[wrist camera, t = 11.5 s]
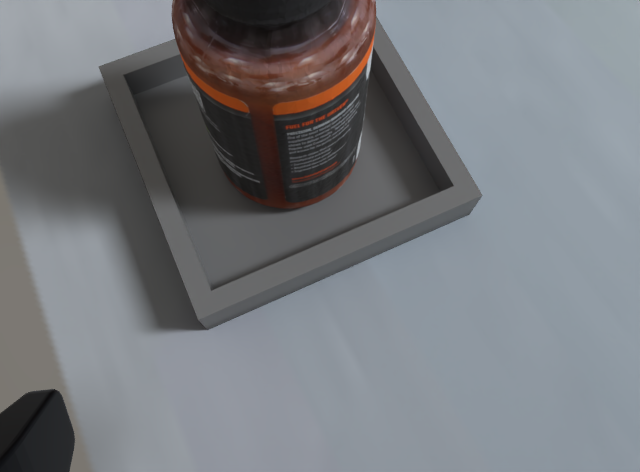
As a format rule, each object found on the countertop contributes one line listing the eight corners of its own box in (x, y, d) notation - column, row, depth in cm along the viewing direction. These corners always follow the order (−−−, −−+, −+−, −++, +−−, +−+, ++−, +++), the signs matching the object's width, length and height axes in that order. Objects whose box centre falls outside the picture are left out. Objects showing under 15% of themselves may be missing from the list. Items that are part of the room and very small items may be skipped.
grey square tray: (469, 214, 24) (482, 195, 22) (207, 329, 23) (198, 320, 21) (349, 6, 28) (351, -26, 26) (114, 93, 26) (98, 66, 24)
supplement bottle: (385, 129, 25) (437, -103, 14) (309, 241, 23) (305, 72, 13) (269, 65, 26) (237, -196, 15) (189, 167, 24) (90, -46, 14)
